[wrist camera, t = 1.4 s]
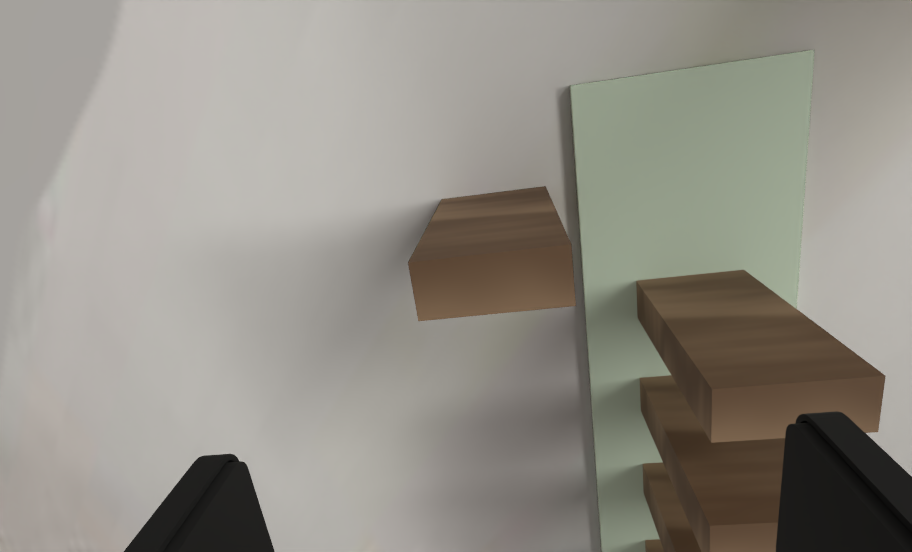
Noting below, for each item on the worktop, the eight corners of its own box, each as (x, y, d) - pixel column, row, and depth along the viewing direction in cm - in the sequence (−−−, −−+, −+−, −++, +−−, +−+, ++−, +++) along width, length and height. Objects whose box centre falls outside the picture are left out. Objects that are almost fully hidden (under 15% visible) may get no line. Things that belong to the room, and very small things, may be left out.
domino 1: (548, 227, 31) (575, 305, 20) (447, 238, 32) (418, 321, 21) (545, 186, 30) (571, 244, 19) (441, 199, 31) (408, 262, 20)
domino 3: (742, 308, 31) (877, 432, 20) (637, 317, 32) (711, 442, 21) (743, 269, 31) (885, 375, 19) (636, 280, 31) (712, 389, 20)
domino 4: (739, 403, 33) (860, 564, 22) (640, 410, 34) (709, 569, 23) (740, 369, 33) (866, 518, 21) (639, 377, 33) (709, 525, 22)
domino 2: (736, 487, 36) (846, 673, 24) (643, 492, 36) (707, 676, 25) (737, 457, 35) (850, 635, 23) (642, 463, 35) (708, 638, 24)
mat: (772, 605, 39) (775, 611, 39) (605, 610, 41) (606, 616, 40) (808, 50, 27) (814, 49, 27) (569, 85, 29) (570, 85, 28)
